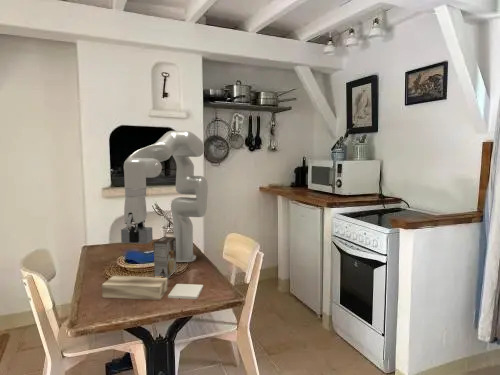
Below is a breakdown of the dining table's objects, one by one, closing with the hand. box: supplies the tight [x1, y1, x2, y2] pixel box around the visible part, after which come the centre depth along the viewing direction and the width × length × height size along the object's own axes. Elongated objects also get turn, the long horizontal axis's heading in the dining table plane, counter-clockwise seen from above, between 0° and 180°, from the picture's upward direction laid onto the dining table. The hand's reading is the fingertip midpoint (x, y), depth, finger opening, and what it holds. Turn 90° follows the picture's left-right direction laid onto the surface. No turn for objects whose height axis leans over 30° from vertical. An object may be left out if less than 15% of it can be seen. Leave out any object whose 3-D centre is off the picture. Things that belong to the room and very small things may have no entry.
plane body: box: [101, 275, 169, 301], centre depth 129 cm, size 9×22×5 cm, turn 85°
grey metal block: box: [120, 226, 154, 245], centre depth 127 cm, size 5×10×5 cm, turn 85°
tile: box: [167, 283, 204, 300], centre depth 131 cm, size 11×11×1 cm
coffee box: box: [153, 236, 177, 280], centre depth 148 cm, size 9×6×16 cm
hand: (137, 239), depth 127 cm, fingers closed on grey metal block, 5 cm apart
